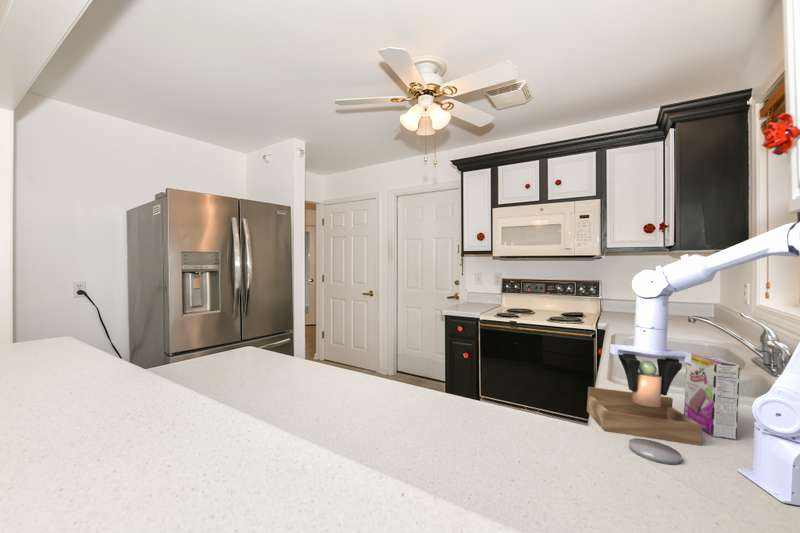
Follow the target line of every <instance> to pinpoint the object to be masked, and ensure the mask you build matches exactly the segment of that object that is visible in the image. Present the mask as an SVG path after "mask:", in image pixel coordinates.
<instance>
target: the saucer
mask: <svg viewBox="0 0 800 533" xmlns="http://www.w3.org/2000/svg"><path fill="white" fill-rule="evenodd" d="M628 441H629V442H628V448H629V450H630V451H631V452H633V453H634V454H635V455H637V456H639V457H641V458H644V459H646V460H649V461H651V462H653V463H654V462H655V463H658V464H662V465H663V464H664V465H667V466H670V465H671V466H675V465H676V466H677V465H680V464H681V463H682V454H681V453H680V452H679V451H678V450H676V449H675V448H674V447H671V446H669V445H667V444H664V443H661V442H659V441H656V440H652V439H645V438H641V437H640V438H639V437H638V438H637V437H636V438H635V437H634V438H630V439H629V440H628Z"/></svg>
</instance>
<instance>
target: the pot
mask: <svg viewBox="0 0 800 533" xmlns="http://www.w3.org/2000/svg"><path fill="white" fill-rule="evenodd" d="M657 370H658V368H657V365H656V364H655V363H654V362H653V361H650V360H642V361H640V365H639V369H638V375H637V390H636V392H633V391H631V392H632V401H633V402H635V403H637V404H641V405H644V406H649V407H661V396H662V394H661V383H662V377H661V376H659V374H657Z"/></svg>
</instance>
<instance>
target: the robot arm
mask: <svg viewBox="0 0 800 533" xmlns="http://www.w3.org/2000/svg"><path fill="white" fill-rule="evenodd" d="M771 256H778V257H779V256H781V257H795V258H796V257H797V258H798V257H800V221H799V222H798V223H796V222H791V223H790V222H789V223H786V224H784V225H781V226H779V227H776V228H774V229H771V230H769V231H766V232H764V233H762V234H759V235H757V236H754V237H752V238H749V239H746V240H744V241H742V242H740V243H737V244H735V245H732V246H729V247H726V248H725V249H722V250H720V251H718V252H715V253H713V254H710V255H708V256H704V255H701V254H697V253H695V254H692V255H690V254H689V253H688V254H687V253H686V254H683V255H681V256H680V259H679V260H676V261H674V262H671V263H668V264H666V265H661V264H660V265H657V266H655V270H653V269H652V270H651V269H643V270H641V272H638V273H637V274H635V275H634V277H633V278H632V282H631V287H632V288H631V289H632V290H633V292H634V294H636V296H635V308H634V309H635V312H634V328H633V329H634V332H633V344H632V345H629V344H627V345H626V344H614V343H613V344H612V343H610V345H609V353H610V354H612V355H613V356H615V355H616V356H618V360H619V361H620V363H621V365H622V367H623V369H624V370H623V371H624V373H625V376H626V381H627V386H628V390H630V392H632V391H633V392H636V390H637V375H638V371H639V365H640V362H641V361H640V360H639V359H638V357H639V358H648V359H649V358H650V359H656V362H657V370H658V372H657V373H658V374H657V375H659V376H661V377H662V383H661V396H663V397H668V396H667V395H668V392H669V389H670V387H671V384H672V382H673V380H674V379H675V377H676V376H677V374H678V373H679V372H680V371H681V370H682V369H683V368H682V367H683V363H681V362H684V363H686V362H687V363H691V353H692V352H688V351H682V350H675V349H674V350H673V349H668V347H667V342H668V324H669V323H668V321H669V300H670V297H671V296H672V295H673V294H674V293H678V292H681V291H684V290H688V289H691V288H694V287H697V286H700V285H703V284H706V283H709V282H712V281H713V280H714V278H715V276H716V274H717V273H718V272H720V271H724V270H726V269H731V268H733V267H737V266H740V265H744V264H746V263H750V262H753V261H757V260H760V259H765V258H767V257H771ZM751 411H752V415H753V417H754V419H755V421H754V422H753V425H754V426H753V438H752V439H753V441H752V443H753V444H752V458H751V459H752V460H751V461H752V462H751V463H752V464H751V469H746V468H739V467H738V468H737V471H738V473H740V474H741V475H743V476H744V477H746V478H747V479H749V480H750V481H752V483H754V484H755V485H757V486H758V487H759V488H761V489H763V490H764V491H765V492H767V493H768V494H770V495H771V496H772V497H774V498H775V499H777V500H778V501H779V502H781V503H784V504H789V505H795V506H800V341H799V343H798V344H797V346H796V348H795V349H794V352H793V354H792V355H791V358H790V359H789V360H788V363H787V364H786V366H785V367H784V369H783V372H782V373H780V375H779V376H778V378H777V379H776V380H775V381H774V383H772V386H771V388H770V389H769V390H768V392H767V393H765V394H762V395H760V396H758V397H757V398H756V399H755V400H754V401H753V403H752V406H751Z"/></svg>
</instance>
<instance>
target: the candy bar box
mask: <svg viewBox="0 0 800 533" xmlns="http://www.w3.org/2000/svg"><path fill="white" fill-rule="evenodd" d="M690 353H691V363H687V362H685V364H686V365H685V367H686V368H685V386H684V387H685V388H684V408H683V414H684V415H685V416H687V417H688V418H690V419H692V420H693V421H695V422H696V423H698V424H700V425H701V426H702V430H701V431H704V432H705V433H707V434H708V435H710V436H712V437H713V438H718V437H721V439H726V438H730V439H729V440H734V439H737V436H738V418H739V417H738V416H739V414H738V413H739V397H740V396H739V394H740V393H739V392H740V369H741V365H740V364H738V363H735V362H731V361H728V360H726V359H725V360H724V359H721V358H719V357H716V356H713V355H710V354H707V353H705V354H704V353H694V352H690Z"/></svg>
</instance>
